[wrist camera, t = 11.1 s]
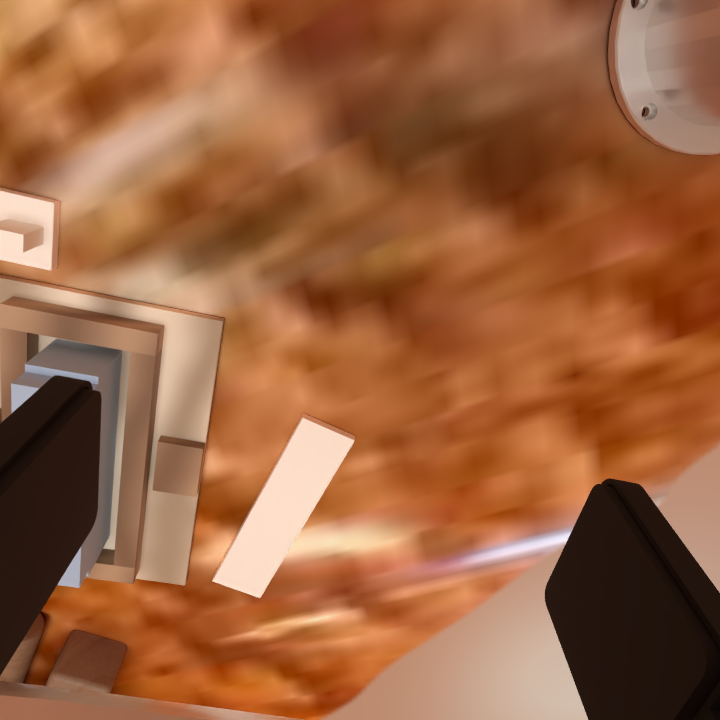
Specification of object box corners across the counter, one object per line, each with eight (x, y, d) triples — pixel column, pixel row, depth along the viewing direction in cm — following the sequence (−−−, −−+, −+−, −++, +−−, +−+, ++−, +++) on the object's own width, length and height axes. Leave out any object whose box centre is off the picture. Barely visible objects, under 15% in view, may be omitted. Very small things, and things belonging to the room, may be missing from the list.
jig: (224, 318, 36) (218, 329, 34) (186, 579, 44) (180, 600, 43) (-44, 265, 34) (-66, 274, 32) (-31, 549, 42) (-49, 570, 40)
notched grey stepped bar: (56, 338, 36) (11, 375, 31) (122, 350, 36) (88, 388, 31) (52, 540, 42) (13, 599, 37) (108, 548, 42) (78, 607, 37)
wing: (354, 431, 41) (354, 440, 39) (261, 586, 46) (260, 598, 45) (303, 409, 40) (302, 417, 39) (215, 569, 45) (212, 581, 44)
